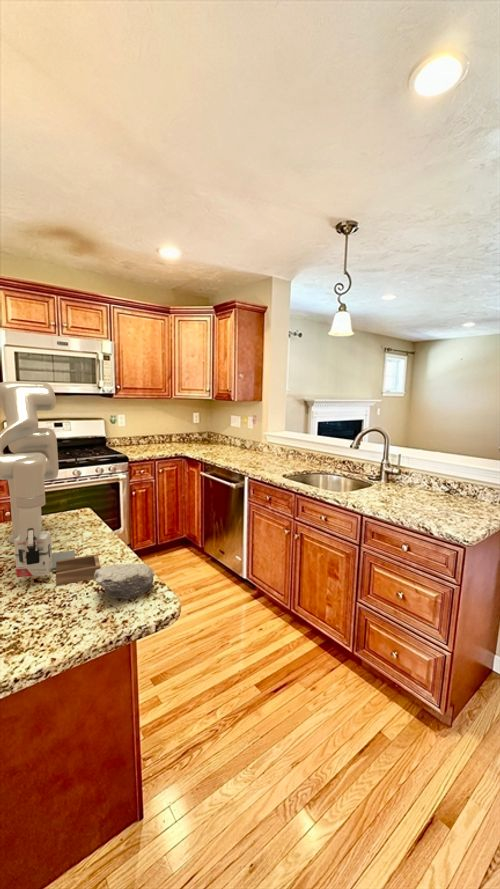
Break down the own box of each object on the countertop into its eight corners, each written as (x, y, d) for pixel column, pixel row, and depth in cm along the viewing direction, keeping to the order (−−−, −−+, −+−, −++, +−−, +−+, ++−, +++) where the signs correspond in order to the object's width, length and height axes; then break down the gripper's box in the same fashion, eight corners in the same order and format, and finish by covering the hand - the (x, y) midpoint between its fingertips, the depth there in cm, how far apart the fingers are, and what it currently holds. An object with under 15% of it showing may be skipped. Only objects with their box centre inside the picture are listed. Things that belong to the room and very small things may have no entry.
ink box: (15, 577, 106) (13, 539, 104) (22, 569, 111) (19, 532, 109) (48, 575, 108) (46, 537, 106) (53, 567, 113) (51, 530, 111)
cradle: (56, 571, 116) (56, 560, 115) (98, 563, 121) (97, 554, 121) (56, 586, 107) (55, 574, 107) (100, 577, 112) (100, 566, 112)
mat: (35, 558, 124) (35, 556, 124) (74, 552, 130) (74, 550, 130) (33, 574, 114) (33, 571, 114) (75, 566, 119) (75, 564, 119)
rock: (157, 599, 105) (162, 569, 103) (97, 616, 95) (101, 583, 92) (143, 576, 113) (148, 548, 111) (86, 589, 103) (90, 559, 100)
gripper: (18, 493, 112) (22, 548, 115) (11, 511, 97) (15, 574, 99) (46, 491, 115) (49, 544, 118) (43, 508, 100) (47, 569, 103)
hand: (33, 558), depth 109 cm, fingers closed on ink box, 5 cm apart
